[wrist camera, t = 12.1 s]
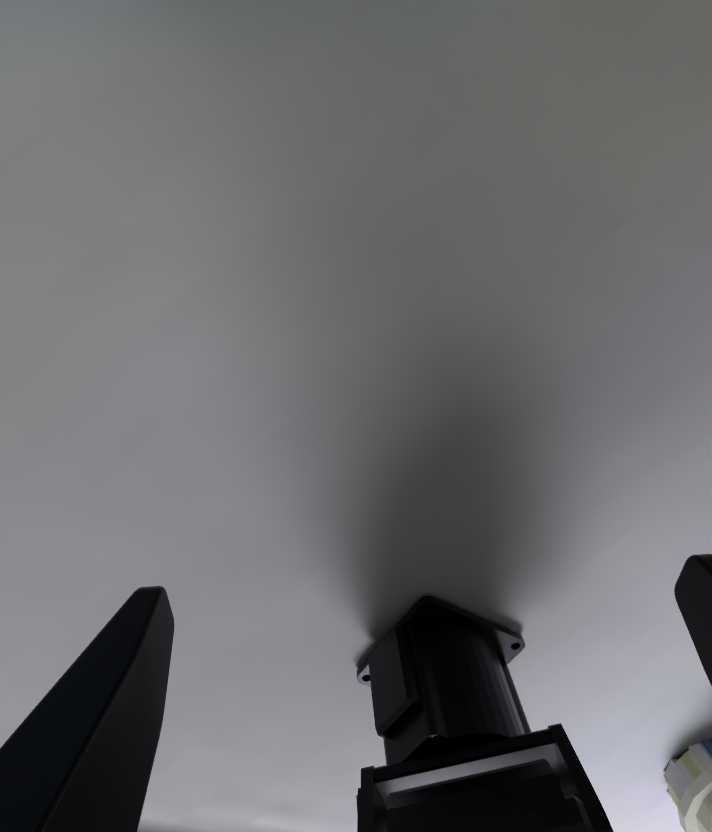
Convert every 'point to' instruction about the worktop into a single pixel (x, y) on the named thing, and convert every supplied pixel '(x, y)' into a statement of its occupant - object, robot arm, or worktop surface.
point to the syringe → (692, 787)
